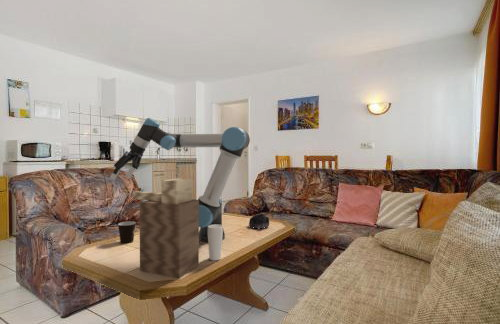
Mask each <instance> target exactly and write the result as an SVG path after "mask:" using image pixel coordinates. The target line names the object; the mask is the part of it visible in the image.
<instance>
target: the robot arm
mask: <svg viewBox="0 0 500 324" xmlns="http://www.w3.org/2000/svg"><path fill="white" fill-rule="evenodd" d="M160 125H161V124H160V122H158V121H157V120H155V119H153V118H150V117H147V118H146V119H145V121H144V122H143V123H142V125H141V127H140V129H139V131H138V132H137V134H136V135H135V137H134V139H133V141H132V142H131V144H130V146H129V149H130V150H129V151H128V150H127V151H125V152H124V154H122V156H120V158H119V159H118V160H117V161H116V162H115V163H114V165H113V167H114V170H113V171H112V173H111V175H110V177H109V178H110V179H111V180H113V181H115V180H116V179H117V177H118V176H119V174H120V172H121V170H122V168H123V167H124V166H125V165H127V164H128V163H129V162H131V166H130V167H129V168H128V170H127V172H126V174H125V175H124V176H125V177H126V178H128V179H130V178H131V177H132V175H133V174H134V172H135V170H138V168H139V167H140V165H141V161H142V157H143V156H144V153H145V152H146V149H147V148H148V146H149V144H150V143H151V141H152V142H154V143H155V144H157V145H158V146H160V147H161V148H162V149H165V150H166V151H170V150H172V149H173V148H175V149H176V148H177V149H178V148H219V151H220V154H219V155H218V156H219V157H218V158H217V161H216V163H215V166H214V169H213V170H212V173H211V175H210V178H209V180H208V182H207V185H206V187H205V190H204V193H203V194H202V195H200V196H199V197H198V198H197V200H199V242H200V241H202V242H204V243H205V242H207V243H208V226H209V225H214V224H218V225H222V226H223V222H222V221H223V216H222V215H223V201H222V198H221V196H222V194H223V191H224V189H225V188H226V184H227V183H228V180H229V177H230V175H231V173H232V170H233V168H234V166H235V163H236V161H237V159H240V158H241V156H242V154H243V152H244V151H245V150H246V149H247V148H248V147H249V145H250V140H251V139H250V135H249V134H248V132H247V131H246V130H245V129H242V128H240V127H237V126H231V127H228V128H227V129H226V130H224V132H222V133H189V134H188V133H187V134H186V133H184V134H183V133H182V134H181V133H179V134H178V133H170V132H166V131H165V130H163V129H161V128H160ZM225 238H226V233H225V230H224V229H223V237H222V241H223V240H225Z"/></svg>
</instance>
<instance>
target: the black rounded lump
mask: <svg viewBox="0 0 500 324" xmlns="http://www.w3.org/2000/svg"><path fill="white" fill-rule="evenodd" d="M249 226H250V227H249ZM269 226H270V218H269V217H268V216H266V214H263V213H258V214H255V215H253V216H252V217H251V218H250V217H249V221H248V227H249V228H251V227H254V228H264V227H267V228H268V227H269ZM254 228H253V229H254ZM264 229H265V228H264Z"/></svg>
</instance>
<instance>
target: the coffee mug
mask: <svg viewBox="0 0 500 324" xmlns="http://www.w3.org/2000/svg"><path fill="white" fill-rule="evenodd" d="M117 226H118V234H119V235H118V236H119V241H120V243H121V244H122V245H123V244H124V245H125V244H126V245H127V244H131V243H133V242H134V238H135V229H136V222H135V221H122V222H119V223H118V225H117Z"/></svg>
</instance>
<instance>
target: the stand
mask: <svg viewBox="0 0 500 324" xmlns="http://www.w3.org/2000/svg"><path fill="white" fill-rule="evenodd" d="M199 230H200V227H199V200H198V199H192V200H191V201H187V202H183V203H179V204H166V203H162V201H153V200H144V201H143V200H142V201H139V272H144V273H149V274H154V275H160V276H164V277H165V276H166V277H170V278H176V279H181V278H182V277H184V276H185V275H187V274H188V273H189V272H191V271H192V270H194V269H195V268H197V267H199V263H200V260H199V259H200V257H199V255H200V253H199V251H200V249H199V248H200V247H199V245H200V244H199V243H200V240H199Z"/></svg>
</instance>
